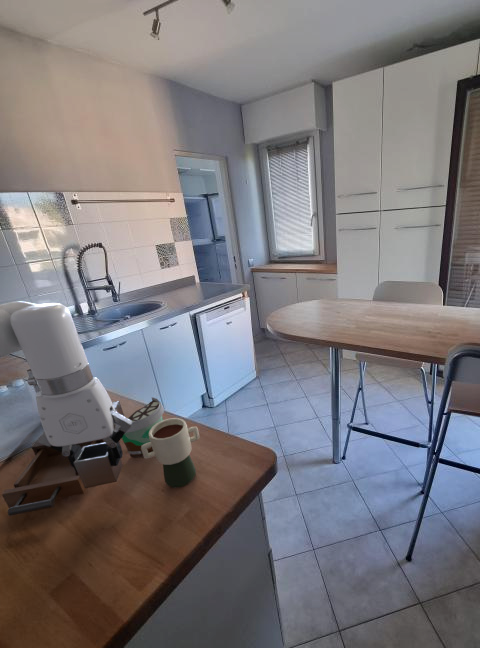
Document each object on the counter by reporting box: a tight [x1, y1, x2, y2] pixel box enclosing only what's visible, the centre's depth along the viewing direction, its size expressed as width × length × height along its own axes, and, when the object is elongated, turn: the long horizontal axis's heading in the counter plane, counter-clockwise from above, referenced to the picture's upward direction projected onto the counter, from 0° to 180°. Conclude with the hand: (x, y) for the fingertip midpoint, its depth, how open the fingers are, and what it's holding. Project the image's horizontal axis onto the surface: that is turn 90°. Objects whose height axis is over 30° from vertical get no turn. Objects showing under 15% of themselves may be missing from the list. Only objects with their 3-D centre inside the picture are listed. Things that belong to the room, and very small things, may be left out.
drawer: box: [1, 440, 100, 517], centre depth 70 cm, size 19×13×4 cm
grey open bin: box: [74, 442, 124, 489], centre depth 62 cm, size 6×5×6 cm
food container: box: [115, 396, 165, 457], centre depth 79 cm, size 12×6×10 cm, turn 160°
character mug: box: [141, 417, 200, 488], centre depth 68 cm, size 11×7×13 cm, turn 120°
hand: (99, 463), depth 62 cm, fingers closed on grey open bin, 5 cm apart
